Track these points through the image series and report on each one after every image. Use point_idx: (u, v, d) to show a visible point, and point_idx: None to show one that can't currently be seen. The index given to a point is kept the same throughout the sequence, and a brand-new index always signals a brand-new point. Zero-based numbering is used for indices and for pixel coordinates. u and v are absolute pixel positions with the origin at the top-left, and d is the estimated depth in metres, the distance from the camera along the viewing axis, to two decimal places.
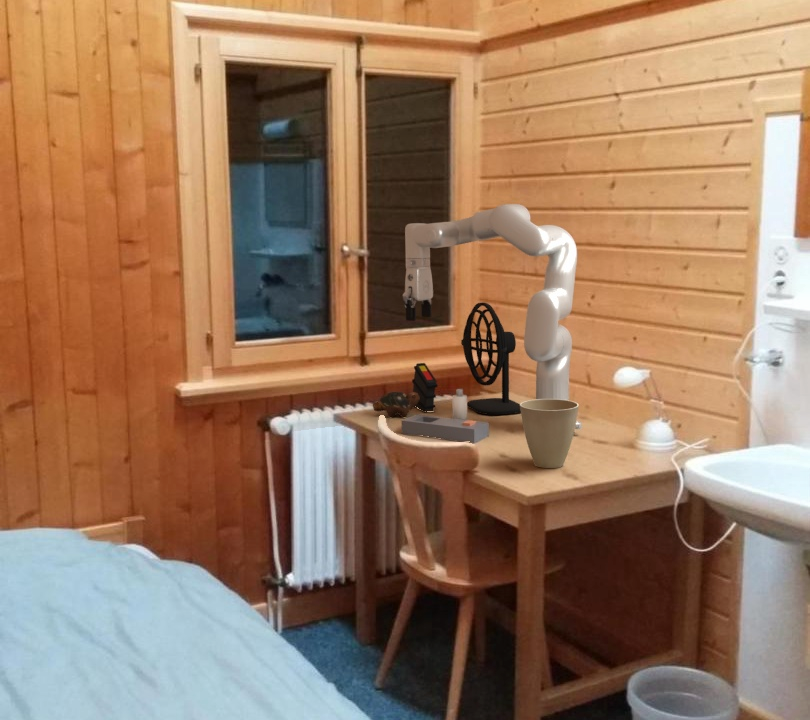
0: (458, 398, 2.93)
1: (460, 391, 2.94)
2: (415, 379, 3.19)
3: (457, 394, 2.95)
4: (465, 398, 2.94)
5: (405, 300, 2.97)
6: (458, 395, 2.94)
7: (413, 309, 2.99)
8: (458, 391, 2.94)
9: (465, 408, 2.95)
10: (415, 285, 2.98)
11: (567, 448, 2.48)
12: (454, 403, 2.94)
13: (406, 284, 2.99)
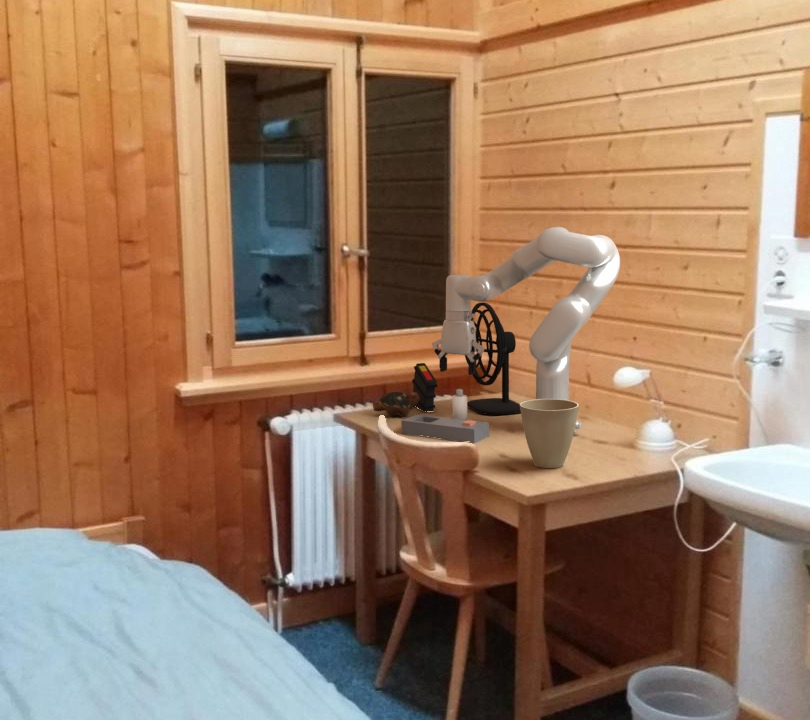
0: (458, 398, 2.93)
1: (460, 391, 2.94)
2: (415, 379, 3.19)
3: (457, 394, 2.95)
4: (465, 398, 2.94)
5: (481, 353, 2.89)
6: (458, 395, 2.94)
7: None
8: (458, 391, 2.94)
9: (465, 408, 2.95)
10: (475, 337, 2.92)
11: (567, 448, 2.48)
12: (454, 403, 2.94)
13: (470, 338, 2.89)
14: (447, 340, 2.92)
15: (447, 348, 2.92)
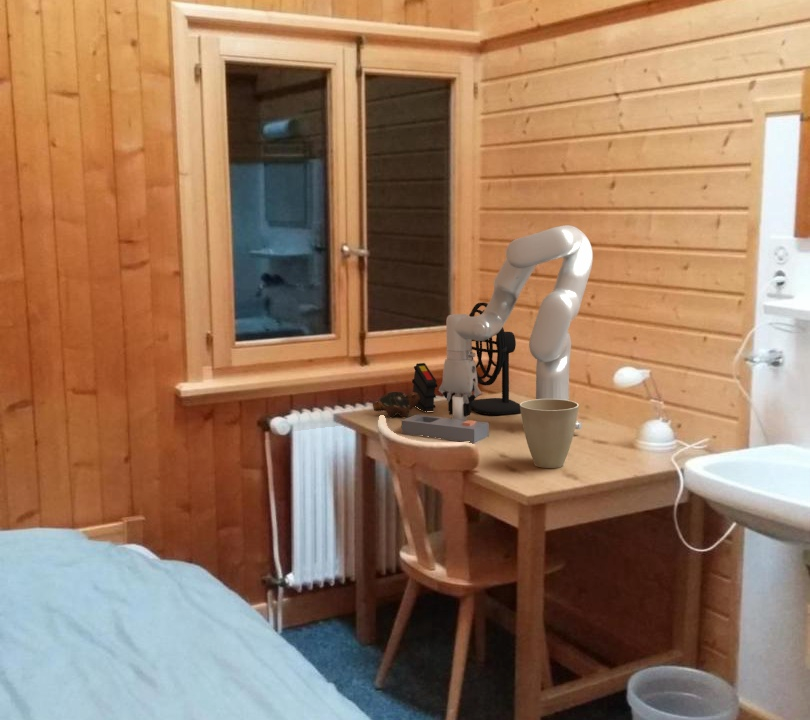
0: (458, 398, 2.93)
1: None
2: (415, 379, 3.19)
3: (457, 394, 2.95)
4: None
5: (476, 396, 2.92)
6: (458, 395, 2.94)
7: None
8: None
9: None
10: (476, 376, 2.93)
11: (567, 448, 2.48)
12: (454, 403, 2.94)
13: (471, 377, 2.91)
14: (448, 379, 2.94)
15: (449, 387, 2.94)
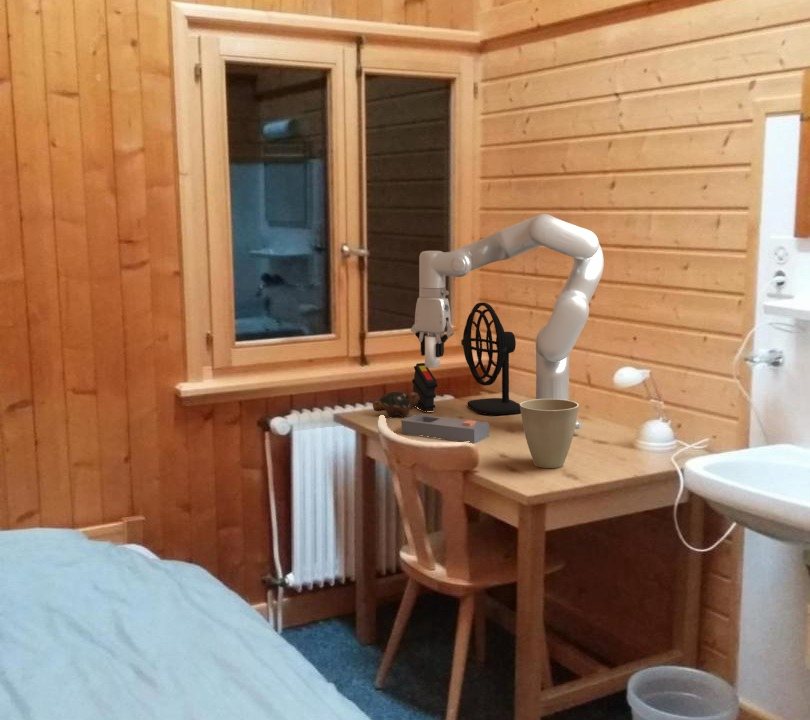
0: (430, 338, 2.83)
1: None
2: (415, 379, 3.19)
3: (430, 334, 2.85)
4: None
5: (449, 336, 2.82)
6: (431, 335, 2.84)
7: None
8: None
9: None
10: (450, 315, 2.83)
11: (567, 448, 2.48)
12: (426, 343, 2.84)
13: (444, 316, 2.81)
14: (420, 318, 2.84)
15: (421, 326, 2.84)
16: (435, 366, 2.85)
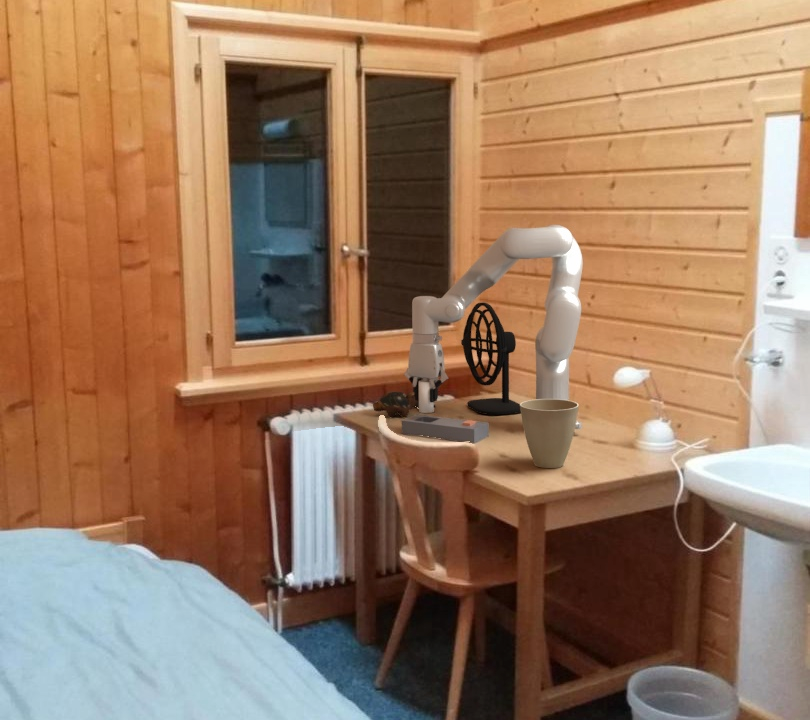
0: (424, 383, 2.83)
1: None
2: None
3: (423, 379, 2.85)
4: None
5: (442, 382, 2.82)
6: (424, 380, 2.85)
7: None
8: None
9: None
10: (443, 360, 2.83)
11: (567, 448, 2.48)
12: (420, 388, 2.84)
13: (437, 361, 2.81)
14: (414, 364, 2.84)
15: (415, 372, 2.84)
16: (429, 411, 2.85)
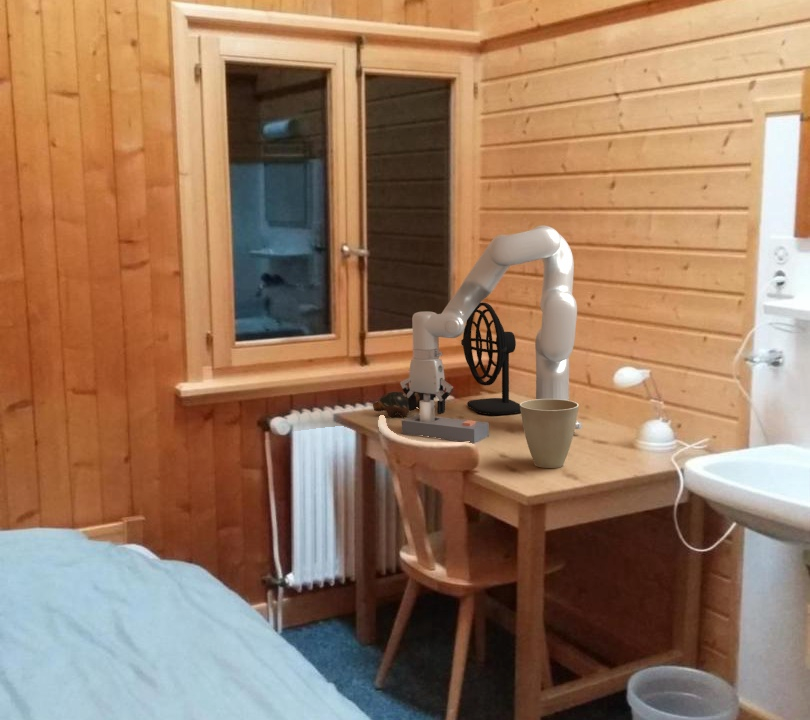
0: (425, 403, 2.84)
1: (427, 396, 2.85)
2: None
3: (424, 399, 2.86)
4: (432, 403, 2.85)
5: (450, 392, 2.82)
6: (425, 400, 2.85)
7: None
8: (425, 396, 2.85)
9: (432, 414, 2.86)
10: (443, 375, 2.84)
11: (567, 448, 2.48)
12: (421, 408, 2.85)
13: (438, 376, 2.81)
14: (414, 379, 2.85)
15: (415, 387, 2.85)
16: None
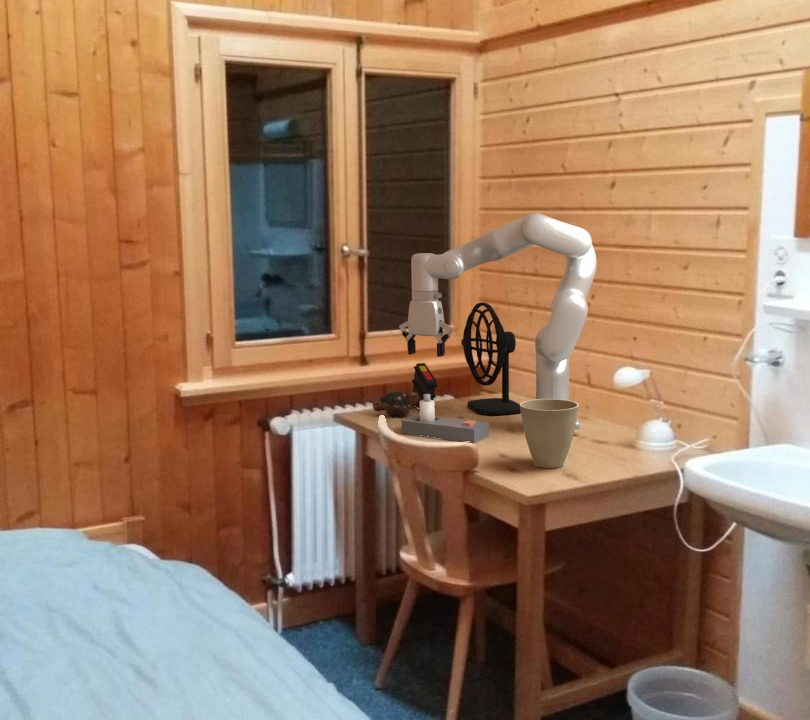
0: (425, 403, 2.84)
1: (427, 396, 2.85)
2: (415, 379, 3.19)
3: (424, 399, 2.86)
4: (432, 403, 2.85)
5: (449, 334, 2.79)
6: (425, 400, 2.86)
7: None
8: (425, 396, 2.85)
9: (432, 414, 2.86)
10: (443, 318, 2.81)
11: (567, 448, 2.48)
12: (421, 408, 2.85)
13: (437, 318, 2.79)
14: (414, 322, 2.82)
15: (414, 330, 2.82)
16: None
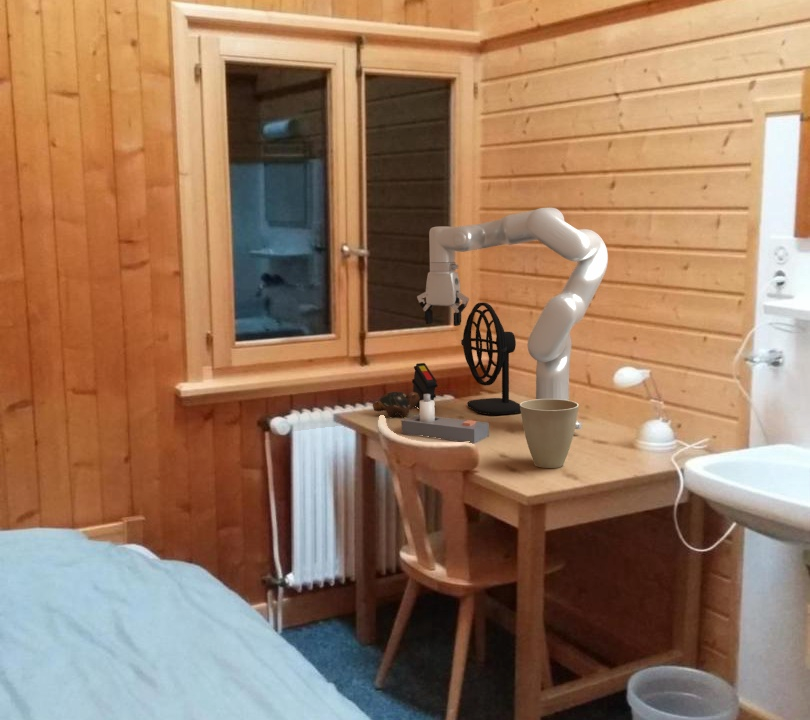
0: (425, 403, 2.84)
1: (427, 396, 2.85)
2: (415, 379, 3.19)
3: (424, 399, 2.86)
4: (432, 403, 2.85)
5: (466, 304, 2.91)
6: (425, 400, 2.86)
7: None
8: (425, 396, 2.85)
9: (432, 414, 2.86)
10: (459, 288, 2.93)
11: (567, 448, 2.48)
12: (421, 408, 2.85)
13: (454, 289, 2.90)
14: (431, 292, 2.93)
15: (432, 300, 2.94)
16: None
